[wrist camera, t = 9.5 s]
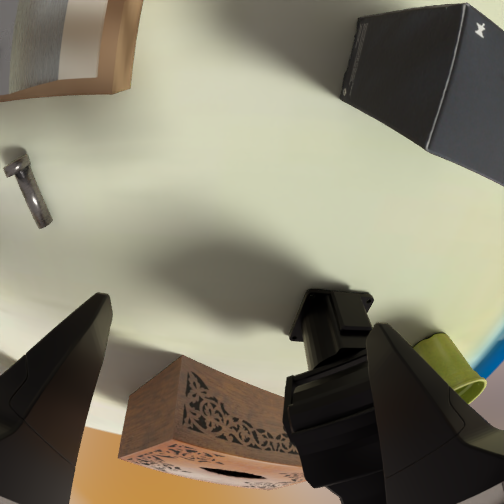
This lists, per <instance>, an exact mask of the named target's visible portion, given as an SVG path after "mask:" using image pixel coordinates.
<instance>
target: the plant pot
mask: <svg viewBox="0 0 504 504" xmlns="http://www.w3.org/2000/svg"><path fill="white" fill-rule="evenodd" d="M413 349H414V350H415V351H416V352H417V353H418V354H419V355H420V356H421V357H422V358H423V359H424V360H425V361H426V362H427V363H428V364H429V365H430V366H431V367H432V368H433V369H434V370H435V371H436V372H437V373H438V374H439V375H440V376H441V377H442V378H443V379H444V380H445V381H446V382H447V384H448V385H449V386H450V387H451V388H452V389H453V390H454V391H455V392H456V393H457V394H458V395H459V396H460V397H461V398H462V399H463V400H464V401H465V402H466V403H467V404H470V403H471V402H472V401H473V400H474V399H475V398H477V397H478V395H480V394H481V392H482V391H483V390H484V388H485V387H486V384H487V381H486V379H485V378H482V377H480V376H479V375H478V373H477V372H475V371H473V369H472V368H471V367H470V365H469V364H468V362H467V361H466V360H465V358H464V357H463V355H462V354H461V353H460V351H459V350H458V349H457V347H456V346H455V344H454V343H453V342H452V340H451V339H450V338H449V336H448V335H446V334H443V333H439V334H434V335H433V336H432V337H431V338H429V339H426V340H422V341H420V342H419V343H418V344H417V345H416V346H415V347H414V348H413Z"/></svg>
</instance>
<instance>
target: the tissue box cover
mask: <svg viewBox="0 0 504 504" xmlns="http://www.w3.org/2000/svg"><path fill="white" fill-rule="evenodd" d="M283 408H284V397H282V396H279V395H276V394H274V393H271V392H268V391H266V390H263V389H260V388H258V387H255V386H253V385H250V384H248V383H245V382H243V381H240V380H238V379H236V378H233V377H231V376H228V375H226V374H224V373H222V372H219V371H217V370H215V369H212V368H210V367H208V366H206V365H204V364H201V363H199V362H197V361H195V360H193V359H191V358H188V357H186V356H184V355H182V356H181V357H179V358H178V359H177V360H176V361H174V362H173V363H172V364H170V365H169V366H168V367H167V368H165V369H164V370H163V371H161V372H160V373H159V374H158V375H156V376H155V377H154V378H152V379H151V380H150V381H149V382H147V383H146V384H145V385H143V386H142V387H141V388H139V389H138V390H137V391H135V392H134V393H133V394H131V395H130V396H129V401H128V406H127V411H126V416H125V421H124V426H123V431H122V437H121V443H120V448H119V454H118V458H119V459H121V460H124V461H127V462H131V463H134V464H137V465H140V466H144V467H147V468H150V469H154V470H158V471H162V472H165V473H169V474H173V475H178V476H181V477H186V478H190V479H195V480H201V481H206V482H211V483H217V484H223V485H230V486H237V487H244V488H253V489H264V490H271V489H276V488H280V487H285V486H289V485H293V484H296V483H301V482H304V481H307V480H306V479H305V477H304V473H303V469H302V464H301V460H300V456H299V453H298V450H297V448H296V447H295V446H293V444H292V443H291V441H290V440H289V438H288V435H287V433H286V432H284V429H283V422H282V418H283Z"/></svg>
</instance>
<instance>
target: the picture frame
mask: <svg viewBox="0 0 504 504" xmlns="http://www.w3.org/2000/svg"><path fill="white" fill-rule="evenodd" d="M142 4H143V0H69V1H68V6H67V11H66V16H65V22H64V29H63V36H62V43H61V52H60V62H59V74H58V80H57V81H53V82H49V83H45V84H41V85H37V86H34V87H30V88H27V89H24V90H20V91H17V92H14V93H11V94H6V95H0V102H5V101H12V100H20V99H29V98H39V97H51V96H67V95H96V94H115V93H118V92H121V91H124V90H127V89H130V87H131V77H132V68H133V60H134V53H135V45H136V39H137V32H138V26H139V20H140V15H141V9H142Z"/></svg>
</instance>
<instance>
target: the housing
mask: <svg viewBox="0 0 504 504" xmlns="http://www.w3.org/2000/svg"><path fill="white" fill-rule="evenodd" d="M68 1H69V0H0V95H6V94H11V93H14V92H17V91H20V90H24V89H27V88H30V87H34V86H37V85H41V84H45V83H49V82H53V81H57V80H58V74H59V62H60V52H61V43H62V36H63V29H64V22H65V16H66V11H67V6H68Z"/></svg>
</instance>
